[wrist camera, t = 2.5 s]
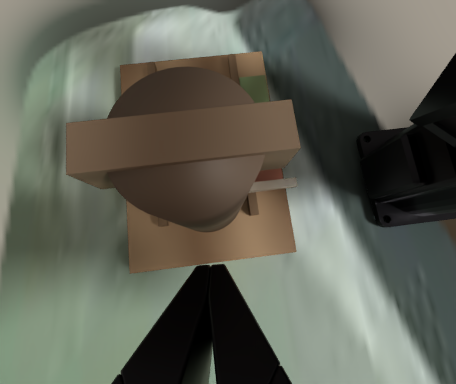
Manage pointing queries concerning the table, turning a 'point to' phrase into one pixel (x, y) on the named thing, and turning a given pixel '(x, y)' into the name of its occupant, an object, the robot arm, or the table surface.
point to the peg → (185, 147)
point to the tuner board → (250, 211)
